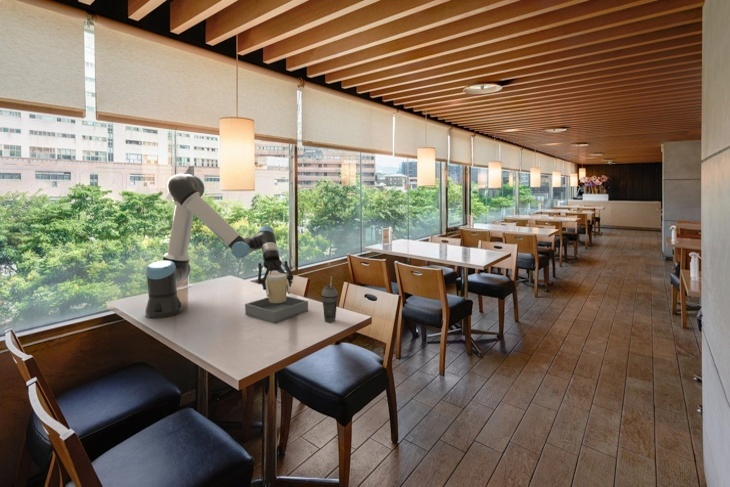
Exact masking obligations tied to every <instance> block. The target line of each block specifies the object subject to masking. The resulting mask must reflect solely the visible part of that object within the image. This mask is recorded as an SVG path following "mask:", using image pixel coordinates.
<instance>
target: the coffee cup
mask: <svg viewBox="0 0 730 487" xmlns="http://www.w3.org/2000/svg"><path fill="white" fill-rule="evenodd" d="M286 274H287V273H286ZM286 274H283V273H279V272H277V273H275V272H274V273H269V274H268V275H267V277H266V281H267V285H268V290H269V302H271V303H282V302H285V301H286V296H287V294H288V292H287V275H288V274H287V275H286Z"/></svg>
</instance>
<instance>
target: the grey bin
mask: <svg viewBox="0 0 730 487" xmlns="http://www.w3.org/2000/svg"><path fill="white" fill-rule="evenodd" d="M308 308H309V300H305V299H301V298H296V297H292V296H288V295H286V301H285V302H282V303H271V302H269V297H267V296H266V297H264V298H261V299H257V300H254V301H250V302H248V303H245V304H244V309H245V310H244V312H245V313H244V314H245V315H246V316H249V317H252V318H255V319H259V320H262V321H265V322H269V323H271V324H278V323H280V322H283V321H285V320H286V321H287V320H289V319H291V318H293V317H297V316H299V315H301V314H305V313H307V312H309V309H308Z"/></svg>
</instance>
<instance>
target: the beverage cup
mask: <svg viewBox="0 0 730 487" xmlns="http://www.w3.org/2000/svg"><path fill="white" fill-rule="evenodd" d="M332 281H333V276H331V275H330V284H329V285H327V286H325V287H324V288H323V289H322V290H321V300H322V308H323V318H324V323H327V324H332V323H335V322H336V319H337V318H336V316H337V304H338V297H339V294H338V290H337V288H336V287H334V286H332Z"/></svg>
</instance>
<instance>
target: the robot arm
mask: <svg viewBox="0 0 730 487" xmlns="http://www.w3.org/2000/svg"><path fill="white" fill-rule="evenodd" d="M166 188H167V191H168V194H169V196H171V197H172V201H173V203H174V204H175V206H174V212H173V219H172V223H171V231H170V236H169V243H168V248H167V252H165V253H164V254H163V257H162V260H157V261H156V262H155V261H154V262H152V263H149V264H148V265H147V267H146V272H145V273H146V274H145V275H146V281H147V292H148V301H147V303H146V307H145V316H146V315H147V316H149V317H148V318H151V317H161V318H167V317H166V316H168V317H173V316H176V315H178V314H180V313H182V312H183V305H182V302H181V300H180V298H179V296H178V287H177V286H178V284H179V283H182V282H183V281H184V280H186V279H187V278H188V277H189V275H190V273H191V265H190V257H189V256H188V250H189V244H190V237H191V232H192V227H193V221H194V216H195V217H196V218H197V219H198V220H199V221H201V223H202V224H204V225H205V227H207V229H209V230H210V231H211V232H212V233H213V234H214V235H215V236H216V237H217V238H218V239H219V240H220V241H221V242H222V243H224V244H225V245H226V246H227V247H228V248H229V249H230V250H231V254H232V255H233V257H234V258H237V259H244V258H246V257H248V256H249V255H250V254H251V253H253V252H255V251H258V250H260V249H261V252H262V253H261V254H262V259H263V263H261V262H258V264H257V268H258V275H257V276H258V277H257V284H259V285H260V284H261V286H262V290H263V291H265V294H266V298H267V297H269V290H268V285H267V279H266V277H267V275H269V274H270V272H277V273H283V274H286V275H287V295H290V294H291V287H292V283H291V281H293V280H294V277H295V276H294V274H293V273H292V270H291V268H290V267H289V264H288V261H287V260H284V261H282V260H281V259H280V254H279V253H280V252H279V250H278V245H277V240H276V235H275V231H274V229H273V227H271V226H269V225H263V226H261V227H260V228H258V230H257V233H255V234H253V235H251V236H248V237H244V238H243V236H242V235H241V234H239V232H237V231H236V230H235V229H234V227H232V226H231V224H229V223H228V222H227V221H226V220H225V219H224V218H223V217H222V216H221V215H220V214H219V213H218V212H217V211H216V210H215V209H214V208H213V207H212V206H211V205H209V204H208V203H207V201H206V200H204V199H203V198H202V196H203V195H204V193H205V189H206V188H205V184H204V182H203V181H202V179H201V178H199V177H198V176H197V175H193V174H185V173H177V174H174V175H172V176H171V177H170V178H169V179H168V181H167V185H166ZM282 267H283V268H284V269H283V268H282ZM263 268H265V269H266V270H265V273H264V275H263V278H262V270H263ZM175 314H176V315H175ZM172 315H173V316H172ZM147 316H146V317H147Z"/></svg>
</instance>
